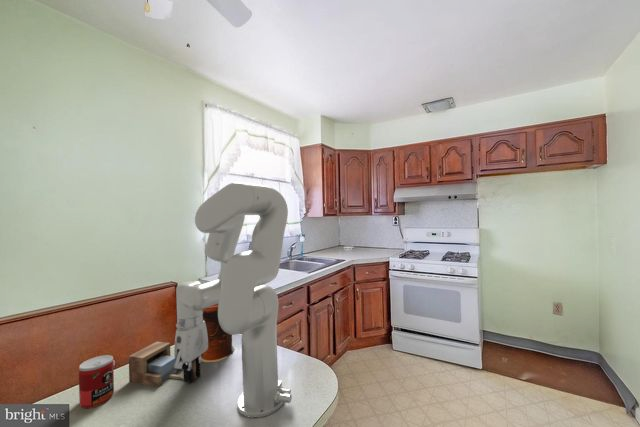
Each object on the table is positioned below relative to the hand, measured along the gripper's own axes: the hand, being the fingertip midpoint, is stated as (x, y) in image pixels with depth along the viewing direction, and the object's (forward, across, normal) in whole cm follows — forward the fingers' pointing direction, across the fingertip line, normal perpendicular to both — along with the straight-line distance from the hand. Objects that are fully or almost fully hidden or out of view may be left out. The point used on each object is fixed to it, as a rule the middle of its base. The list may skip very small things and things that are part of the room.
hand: (192, 378), depth 84 cm
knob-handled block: (+1, 0, +7) cm, 7 cm away
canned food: (+1, -14, +21) cm, 25 cm away
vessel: (+1, +17, +4) cm, 17 cm away
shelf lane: (+1, 0, +14) cm, 14 cm away
